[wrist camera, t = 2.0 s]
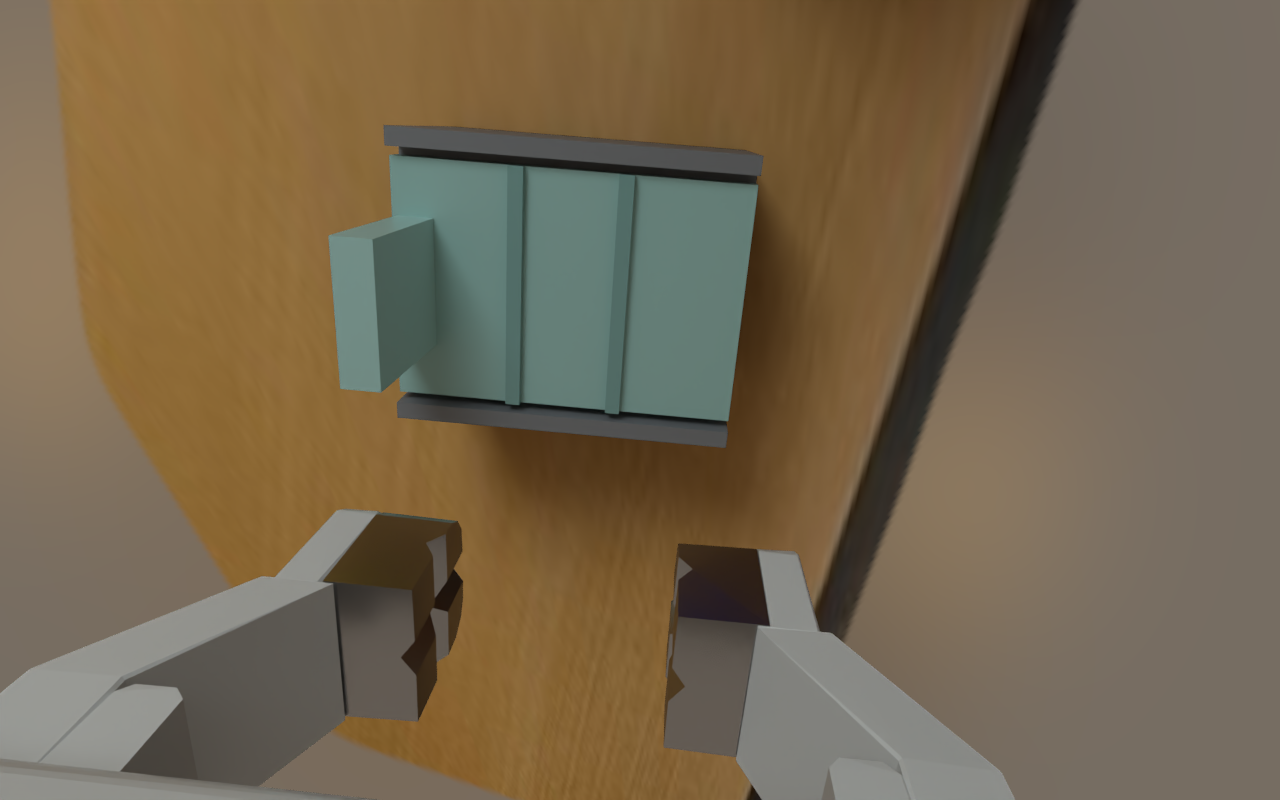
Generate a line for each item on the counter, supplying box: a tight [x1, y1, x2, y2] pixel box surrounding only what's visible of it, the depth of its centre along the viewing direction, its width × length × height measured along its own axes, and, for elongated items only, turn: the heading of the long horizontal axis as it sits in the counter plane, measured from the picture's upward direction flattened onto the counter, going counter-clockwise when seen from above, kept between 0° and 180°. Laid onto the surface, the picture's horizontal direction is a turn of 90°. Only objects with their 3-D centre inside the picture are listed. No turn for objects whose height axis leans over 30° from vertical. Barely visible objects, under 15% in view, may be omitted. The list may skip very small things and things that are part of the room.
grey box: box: [384, 125, 763, 448], centre depth 28 cm, size 10×12×7 cm
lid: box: [329, 154, 758, 421], centre depth 23 cm, size 8×12×6 cm
